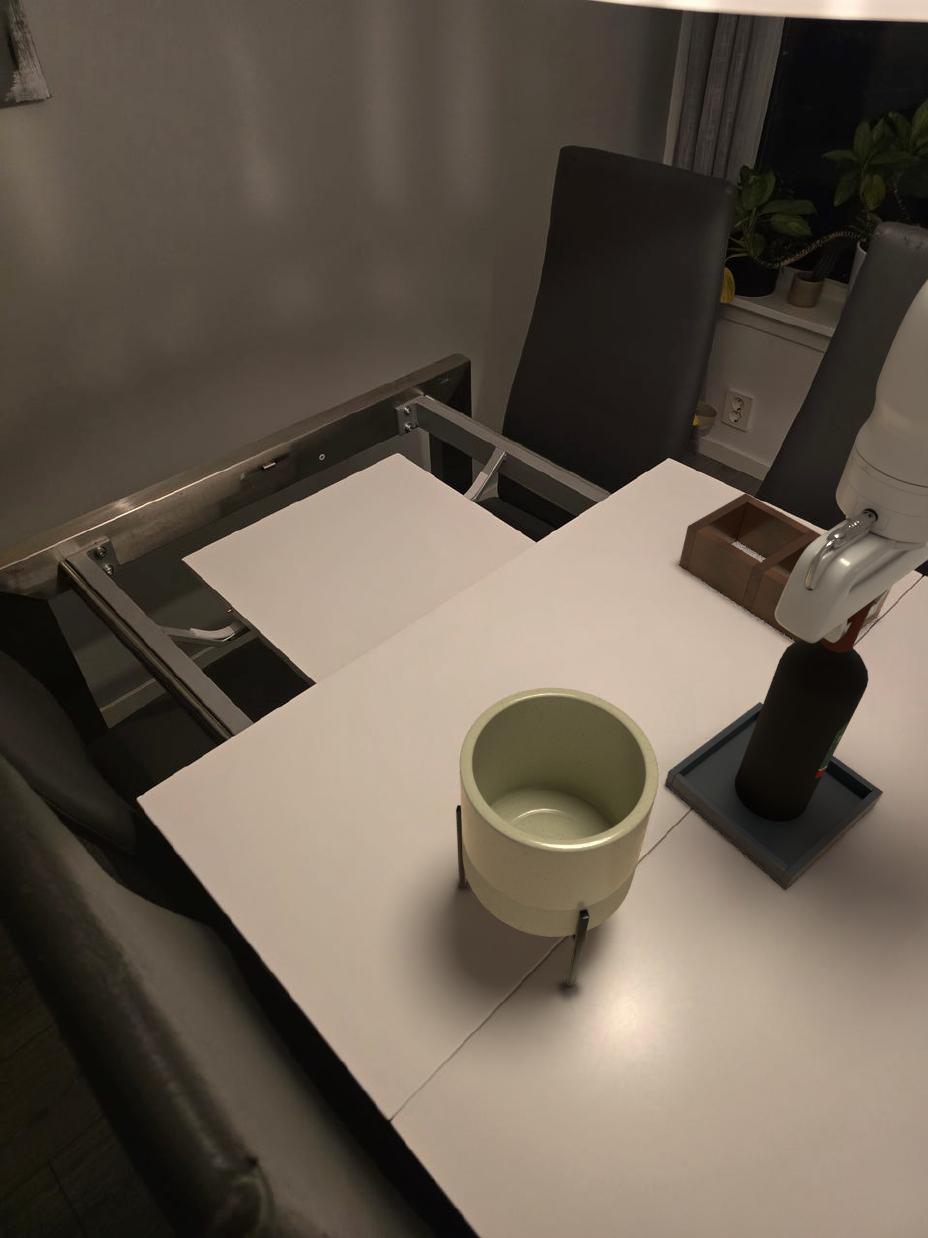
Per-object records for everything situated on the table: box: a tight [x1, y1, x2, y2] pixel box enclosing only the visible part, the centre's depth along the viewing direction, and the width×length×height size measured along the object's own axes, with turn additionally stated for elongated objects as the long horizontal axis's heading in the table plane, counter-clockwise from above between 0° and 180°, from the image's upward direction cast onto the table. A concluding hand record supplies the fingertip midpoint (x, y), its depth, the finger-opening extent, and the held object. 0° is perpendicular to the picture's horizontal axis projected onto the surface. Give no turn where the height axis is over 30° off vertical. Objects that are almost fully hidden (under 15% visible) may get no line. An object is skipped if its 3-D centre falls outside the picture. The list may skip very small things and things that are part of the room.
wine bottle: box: [735, 598, 876, 821], centre depth 74 cm, size 8×8×30 cm
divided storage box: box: [678, 492, 892, 642], centre depth 106 cm, size 24×12×7 cm, turn 38°
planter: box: [455, 687, 660, 988], centre depth 68 cm, size 15×16×23 cm
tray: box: [664, 701, 884, 890], centre depth 84 cm, size 16×16×2 cm
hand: (845, 624), depth 67 cm, fingers closed on wine bottle, 3 cm apart
